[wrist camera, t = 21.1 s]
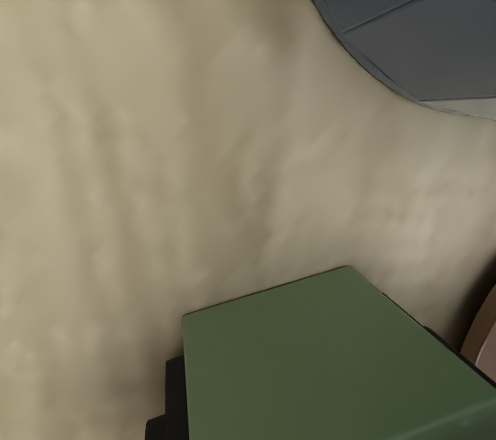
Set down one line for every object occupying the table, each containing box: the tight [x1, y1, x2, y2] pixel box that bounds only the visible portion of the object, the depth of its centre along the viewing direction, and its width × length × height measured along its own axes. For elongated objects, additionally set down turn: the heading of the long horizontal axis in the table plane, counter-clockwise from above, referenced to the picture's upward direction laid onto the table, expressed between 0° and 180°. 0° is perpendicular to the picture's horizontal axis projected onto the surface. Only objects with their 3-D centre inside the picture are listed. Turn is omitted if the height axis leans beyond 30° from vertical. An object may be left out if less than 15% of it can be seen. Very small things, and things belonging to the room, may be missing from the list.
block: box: [182, 266, 496, 440], centre depth 8 cm, size 5×5×5 cm
